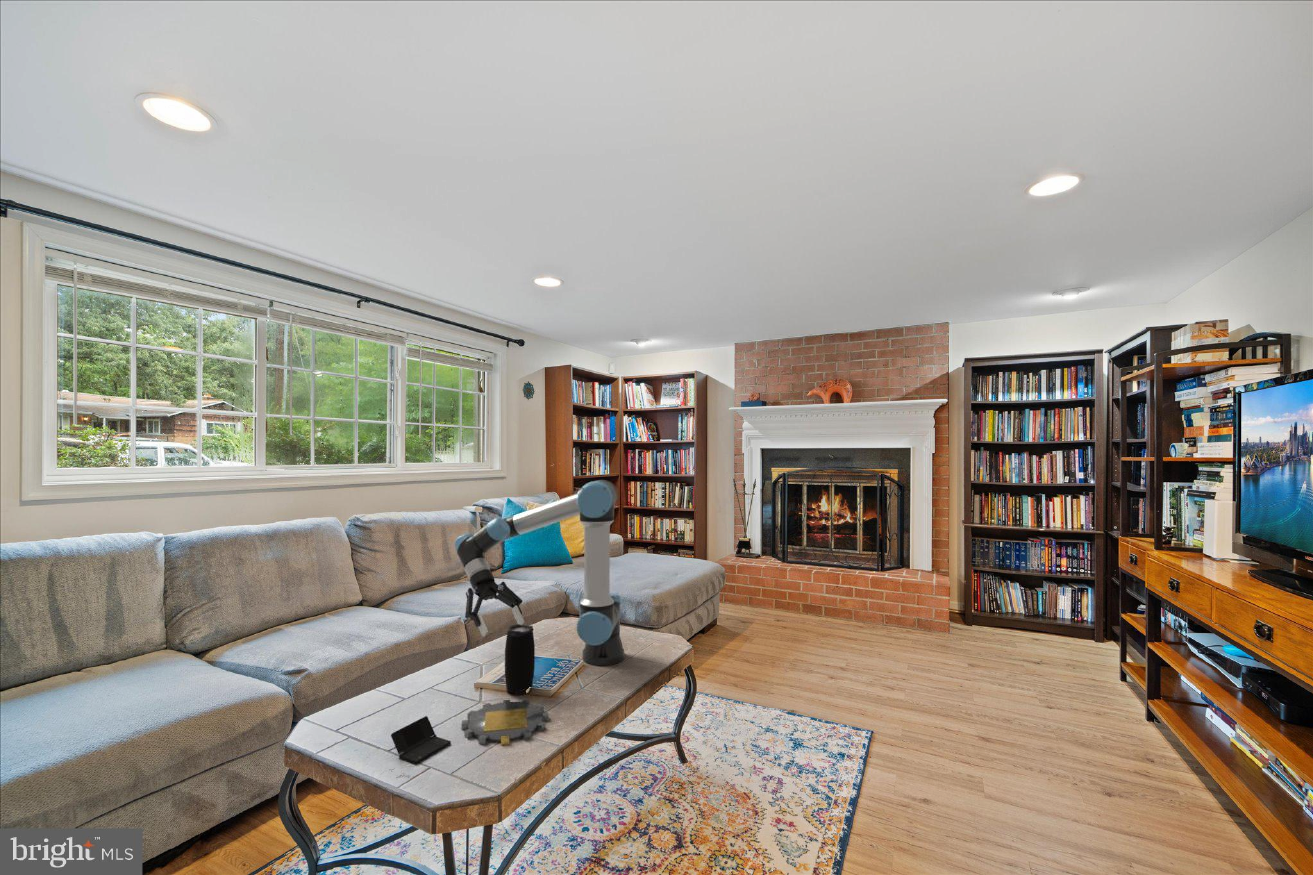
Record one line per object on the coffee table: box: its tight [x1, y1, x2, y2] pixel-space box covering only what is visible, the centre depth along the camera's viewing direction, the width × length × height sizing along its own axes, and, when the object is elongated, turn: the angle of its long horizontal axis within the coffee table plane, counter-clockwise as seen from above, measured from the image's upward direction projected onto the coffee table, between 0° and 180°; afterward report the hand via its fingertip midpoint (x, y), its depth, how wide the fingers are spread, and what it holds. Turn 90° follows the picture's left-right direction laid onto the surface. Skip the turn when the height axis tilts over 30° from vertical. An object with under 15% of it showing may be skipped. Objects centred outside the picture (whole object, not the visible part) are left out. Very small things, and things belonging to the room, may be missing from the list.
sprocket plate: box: [461, 699, 550, 746], centre depth 156 cm, size 23×23×2 cm
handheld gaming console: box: [390, 715, 452, 765], centre depth 142 cm, size 12×7×10 cm
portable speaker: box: [504, 623, 536, 697], centre depth 177 cm, size 9×9×20 cm
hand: (504, 629), depth 182 cm, fingers open, 13 cm apart
